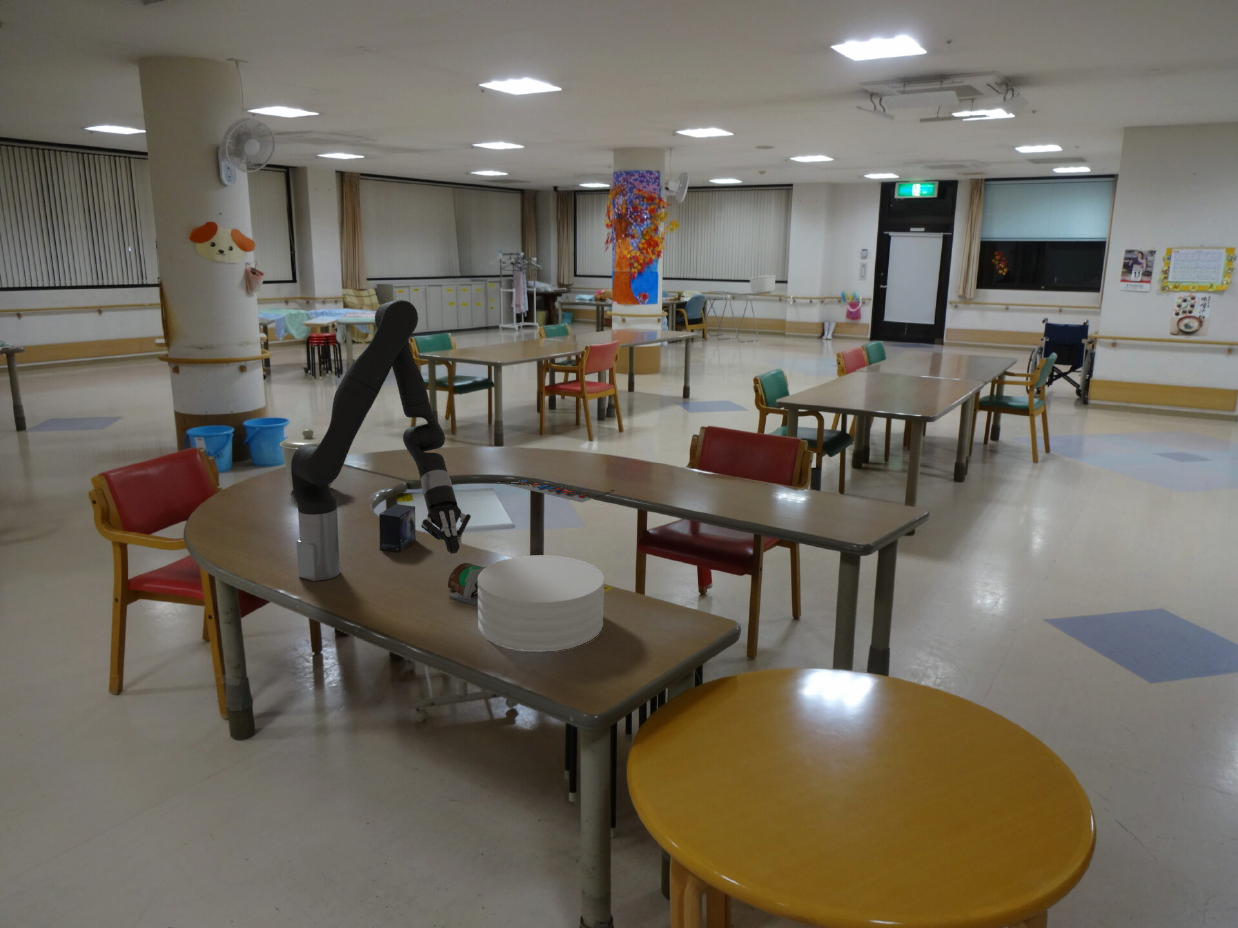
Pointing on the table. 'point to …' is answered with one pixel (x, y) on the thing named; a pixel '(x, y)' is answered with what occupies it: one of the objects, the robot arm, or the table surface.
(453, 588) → the cake slice
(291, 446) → the canister
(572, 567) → the plate stack
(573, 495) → the gear board
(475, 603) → the rubber mat
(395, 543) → the small box
